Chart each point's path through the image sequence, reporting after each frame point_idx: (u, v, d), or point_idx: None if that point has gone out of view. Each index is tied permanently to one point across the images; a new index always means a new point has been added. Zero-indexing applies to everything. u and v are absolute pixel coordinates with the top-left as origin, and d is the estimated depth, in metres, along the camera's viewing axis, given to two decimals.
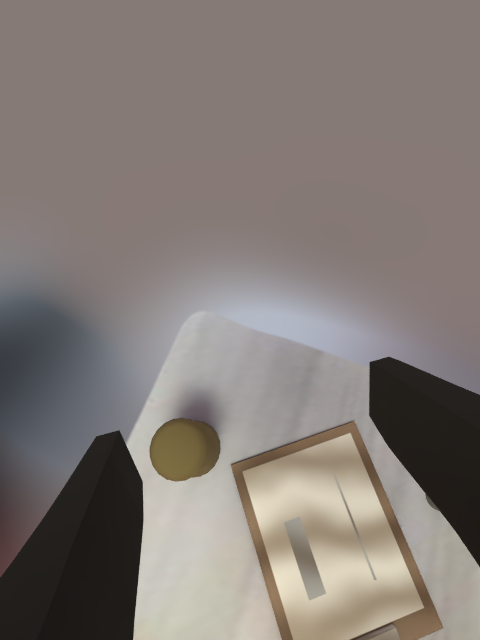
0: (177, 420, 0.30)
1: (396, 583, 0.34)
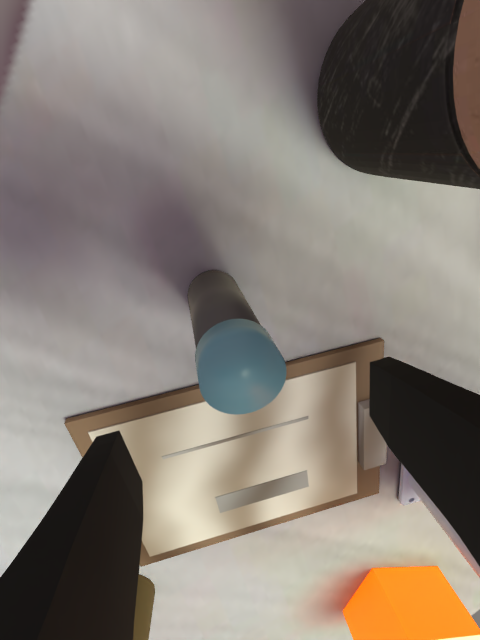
0: None
1: (318, 392, 0.22)
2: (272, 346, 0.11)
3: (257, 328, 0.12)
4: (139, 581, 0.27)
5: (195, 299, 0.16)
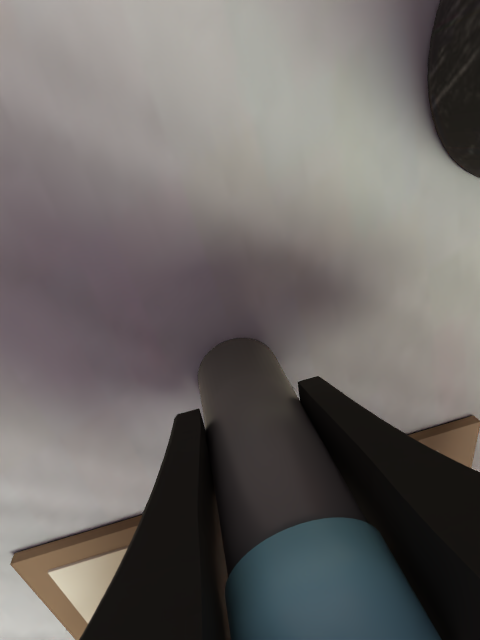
0: None
1: None
2: None
3: (372, 553, 0.05)
4: None
5: (214, 406, 0.09)
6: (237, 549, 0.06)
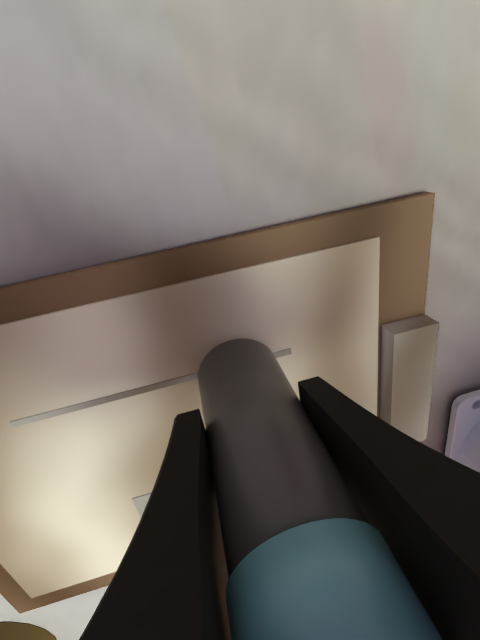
0: None
1: (309, 300, 0.12)
2: None
3: (373, 555, 0.05)
4: (22, 635, 0.17)
5: (214, 406, 0.09)
6: (237, 550, 0.06)
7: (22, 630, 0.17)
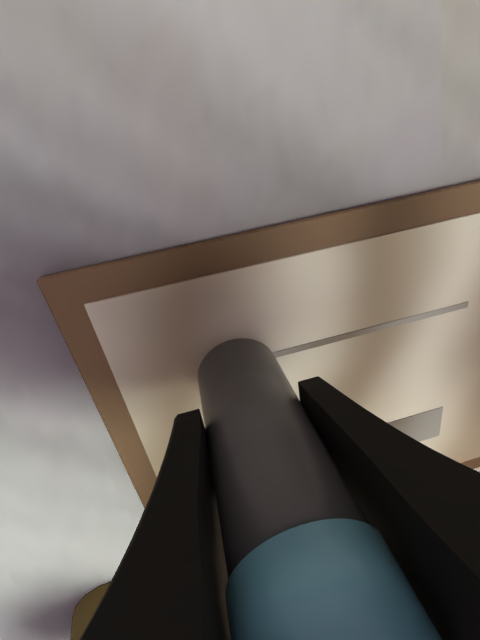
0: None
1: None
2: None
3: (373, 555, 0.05)
4: None
5: (214, 406, 0.09)
6: (237, 550, 0.06)
7: None
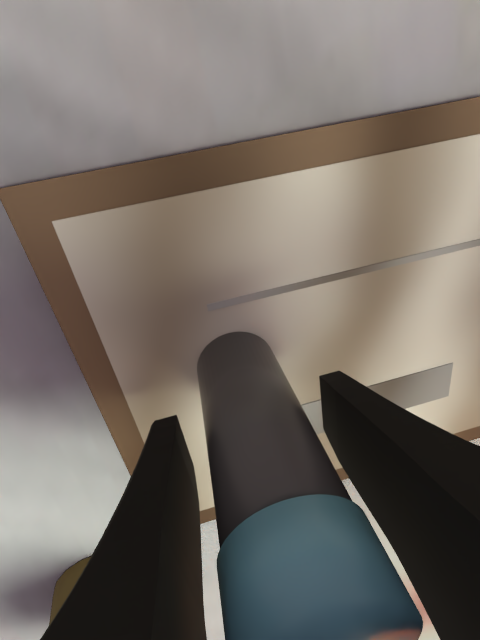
0: None
1: None
2: (402, 602, 0.05)
3: (352, 527, 0.06)
4: None
5: (211, 395, 0.09)
6: (228, 524, 0.06)
7: None
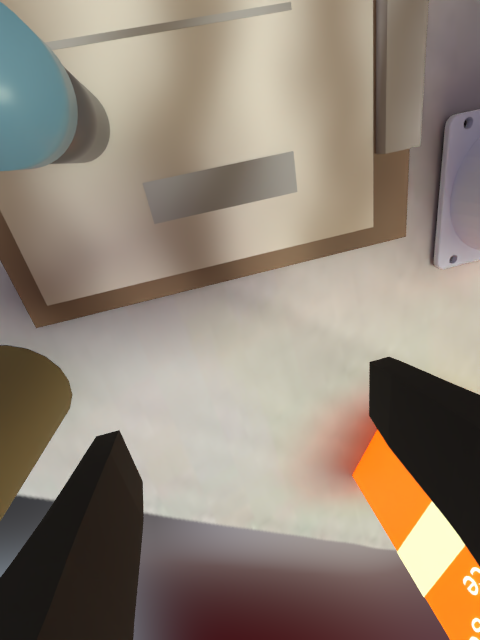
0: None
1: None
2: (10, 10, 0.06)
3: None
4: (39, 360, 0.17)
5: None
6: None
7: (38, 357, 0.18)
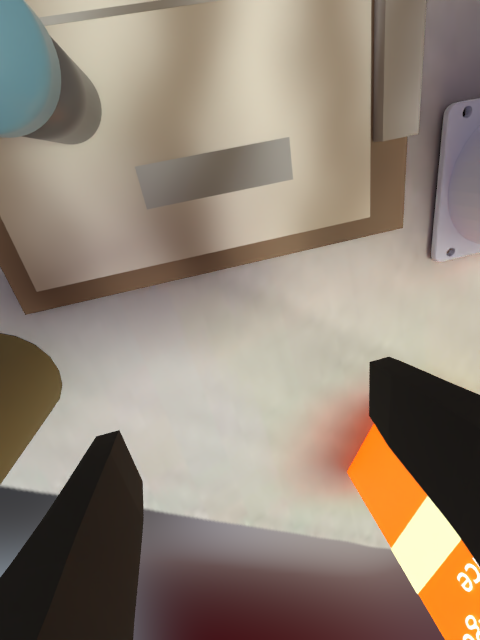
0: None
1: None
2: None
3: None
4: (28, 348, 0.17)
5: None
6: None
7: (27, 345, 0.17)
